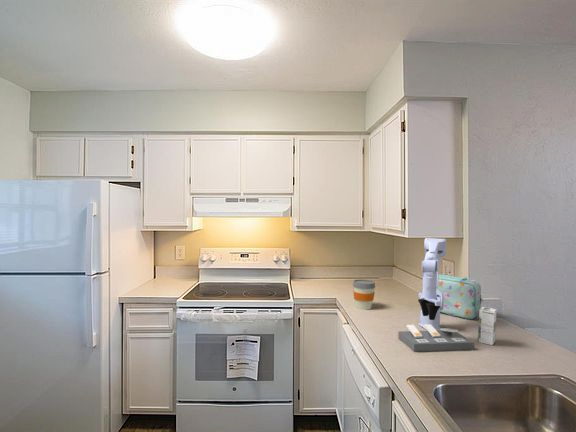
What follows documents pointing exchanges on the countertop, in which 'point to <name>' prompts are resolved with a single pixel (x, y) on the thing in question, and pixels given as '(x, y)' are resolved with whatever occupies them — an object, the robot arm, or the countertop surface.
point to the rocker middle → (431, 330)
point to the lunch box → (460, 296)
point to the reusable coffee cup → (363, 293)
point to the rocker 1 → (414, 331)
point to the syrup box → (487, 325)
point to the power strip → (436, 341)
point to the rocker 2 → (449, 330)
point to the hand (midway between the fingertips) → (428, 317)
